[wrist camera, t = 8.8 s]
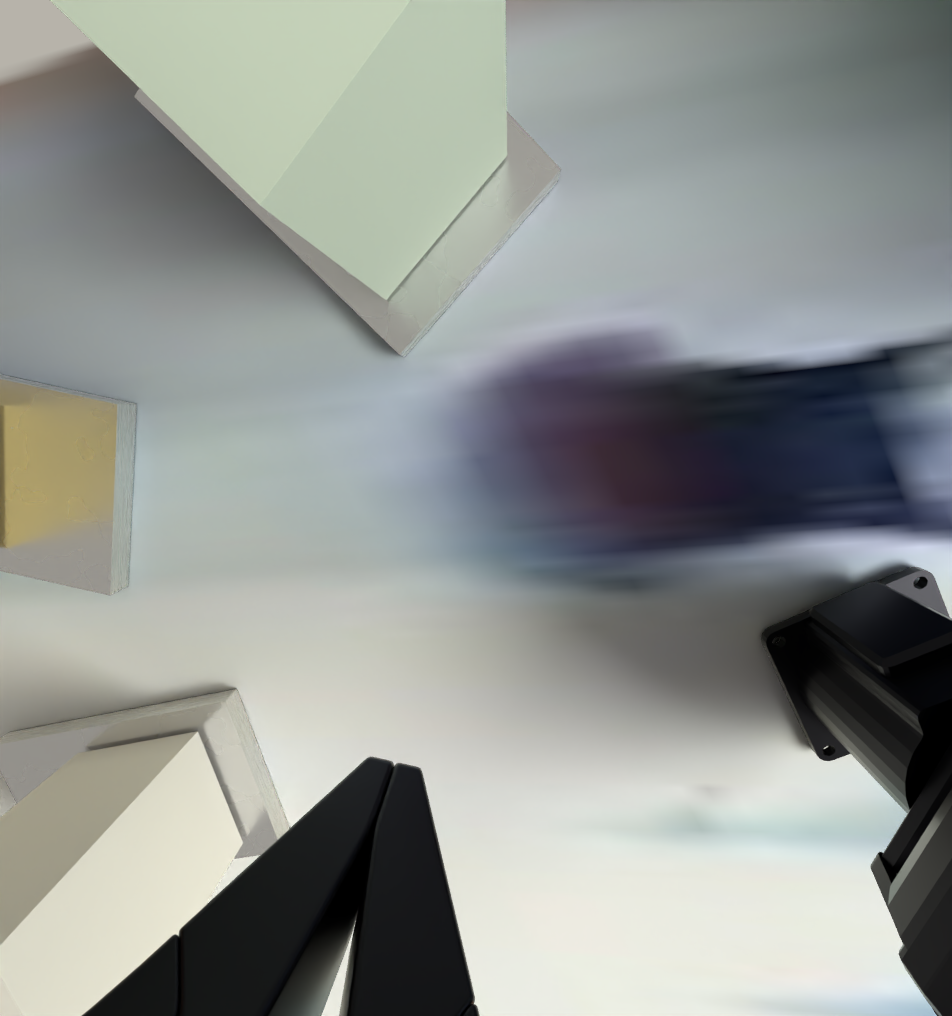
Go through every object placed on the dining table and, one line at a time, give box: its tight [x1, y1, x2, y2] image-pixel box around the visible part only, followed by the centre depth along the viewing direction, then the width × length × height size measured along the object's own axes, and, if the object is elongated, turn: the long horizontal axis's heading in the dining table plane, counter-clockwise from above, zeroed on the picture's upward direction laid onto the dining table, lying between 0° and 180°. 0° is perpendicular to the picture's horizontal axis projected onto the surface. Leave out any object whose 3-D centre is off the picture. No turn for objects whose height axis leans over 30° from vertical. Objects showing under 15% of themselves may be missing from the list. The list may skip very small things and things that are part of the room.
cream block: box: [0, 731, 243, 1016], centre depth 18 cm, size 6×6×9 cm
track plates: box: [0, 88, 561, 859], centre depth 20 cm, size 30×35×1 cm
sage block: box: [50, 0, 507, 300], centre depth 12 cm, size 6×6×9 cm
